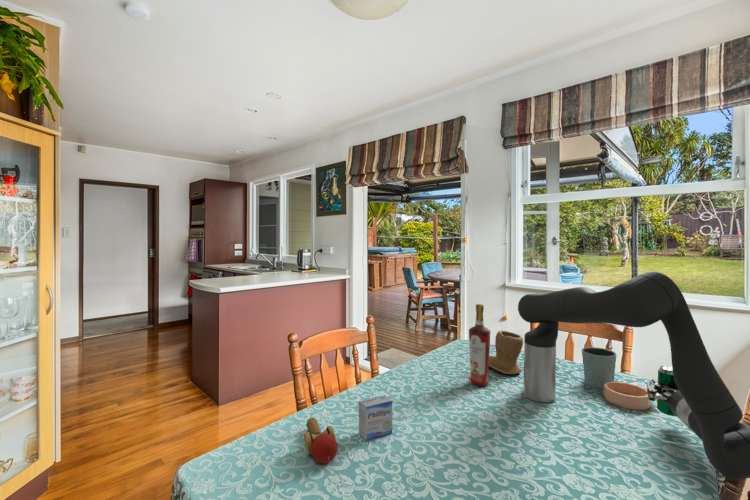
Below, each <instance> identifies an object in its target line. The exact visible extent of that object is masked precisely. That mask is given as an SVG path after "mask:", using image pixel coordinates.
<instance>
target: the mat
mask: <svg viewBox="0 0 750 500" xmlns="http://www.w3.org/2000/svg"><path fill="white" fill-rule="evenodd" d="M597 392H598V394H599V395H600V396H601V398H602V400H603V402H604V404H605V405H606V406H608V407H615V408H621V409H624V408H623V407H620V406H617V405H614V404H612V403H610V402H608V401H607V400H606V399H605V398H604V391H601V390H598V391H597ZM641 411H643V412H651V413H657V414H659V413H660V411H659V410H658V409H657V407H655V406H654V405H653V404H652V403H651V405H650V408H649V409H646V410H641Z"/></svg>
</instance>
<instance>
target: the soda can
mask: <svg viewBox="0 0 750 500" xmlns="http://www.w3.org/2000/svg"><path fill="white" fill-rule="evenodd" d="M657 382H658V383H659V384H660V385H662V386H668V387H670V388H672V389H676V390H679V389H678V387H677V385H676V382H675V380H674V376H673V371H672V365H671V366H670V365H660V366H659V368H658V369H657ZM660 392H661V390H660ZM656 410H657V411H658V412H659V413H661V414H664V415H667V416H671V417H677V416H676V415H675V414H674V413H673V412H672V410H671V409H670V407H669V405H668V404H667V403H665V402H663V401H662V400H661V399H656Z"/></svg>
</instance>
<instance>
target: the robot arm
mask: <svg viewBox="0 0 750 500" xmlns="http://www.w3.org/2000/svg"><path fill="white" fill-rule="evenodd" d="M517 310H518V314H519V316H520V318H521V319H522V320H524V321H525V322H527V323H529V324H538V326H537V325H536V327H535V328H534V329H532V330H529V331H527V332H525V334H524V339H523V347H524V348H523V350H524V351H523V352H524V353H523V355H524V356H523V357H524V358H523V360H524V361H523V362H524V363H523V395H524V396H523V397H524V398H525V399H529V400H531V401H534V402H537V403H552V402H555V401H556V398H557V397H556V393H557V392H556V385H557V381H556V380H557V379H556V378H557V374H556V373H557V371H556V370H557V368H556V367H557V365H556V364H557V339H558V336H559V323H567V324H610V325H617V326H623V327H630V328H644V327H645V328H646V327H648V326H651V325H653V324H655V323H657V322H660V321H661V323H662V325H663V326H664V329H665V331H666V333H667V336H668V339H669V344H670V345H669V346H670V354H671V356H670V357H671V367H672V371H673V376H674V380H675V382H676V385H677V387H678V389H679V390H676V389H672V388H670V387H668V386H662V385H660V384H659V383H658V380H657V379H653V378H651V380H649V383H648V382H647V383H646V385H647V387H646V388H647V394H648V398H649V400H651V402H655V401H657V399H661V400H662V401H663V402H665V403H667V404H668V405H669V407H670V409H671V410H672V412H673V413H674V414H675V415H676V416H675V417H677V418H678V419H679V420H680V421H681V422H682V424H684V426H686V427H687V429H689V430H690V431H692V432H693V433H694V434H695V435H696V436H697V437H698V438H699V439H700V440H701V441H702V445H703V448H704V452H705V455H706V458H707V460H708V461H709V464H710V465H712V467H713V468H714V469H715V470H716V471H717V472H718V473H719V474H721V475H722V476H723V477H726V478H727V479H730V480H732V481H733V480H734V481H738V480H740V481H741V480H746V479H750V425H749V424H746V423H744V422H741V421H742V419H743V417H744V414H743V411H742V409H741V407H740V406H739V404H738V402H737V401H736V400H735V397H734V396H733V395H732V393H731V391H730V390H729V388H728V387H727V385H726V384H725V382H724V381H723V379H722V377H721V376H720V374H719V372H718V371H717V369H716V367H715V365H714V364H713V361H712V359H711V358H710V355H709V353H708V350H707V348H706V346H705V344H704V342H703V339H702V336H701V334H700V332H699V330H698V327H697V325H696V322H695V320H694V318H693V315H692V313H691V311H690V308H689V306H688V303H687V302H686V299H685V296H684V295H683V293H682V291H681V289H680V287H678V285H677V283H676V282H674V280H673V279H672V278H670V276H668V275H666V274H664V273H662V272H658V271H654V270H648V271H645V272H642V273H640V274H638V275H636V276H634V277H632V278H630V279H628V280H625V281H623V282H621V283H620V284H617V285H615V286H613V287H612V288H609V289H606V290H602V291H596V290H595V289H592V288H589V287H587V286H586V287H585V286H580V287H579V286H578V287H572V288H565V289H561V290H557V291H553V292H548V293H528V294H524V295H523V296H522V297H521V298H520V299H519V301H518V304H517ZM660 390H661V392H660Z"/></svg>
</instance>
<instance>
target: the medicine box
mask: <svg viewBox="0 0 750 500" xmlns="http://www.w3.org/2000/svg"><path fill="white" fill-rule="evenodd" d="M392 433H393V400H392V399H390V398H389V397H388V396H386V395H381V396H376V397H372V398H368V399H364V400H363V399H362V400H360V401H358V434H359V435H360V436H361V438H363V439H364V441H366V442H368V441H371V440H370V439H372V440H375V439H378V438H381V437H385V436H387V435H391V434H392ZM384 435H385V436H384ZM380 436H381V437H380ZM377 437H378V438H377ZM374 438H375V439H374ZM367 440H368V441H367Z"/></svg>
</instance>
